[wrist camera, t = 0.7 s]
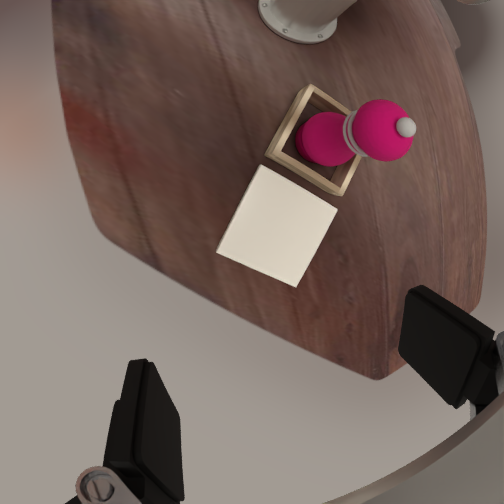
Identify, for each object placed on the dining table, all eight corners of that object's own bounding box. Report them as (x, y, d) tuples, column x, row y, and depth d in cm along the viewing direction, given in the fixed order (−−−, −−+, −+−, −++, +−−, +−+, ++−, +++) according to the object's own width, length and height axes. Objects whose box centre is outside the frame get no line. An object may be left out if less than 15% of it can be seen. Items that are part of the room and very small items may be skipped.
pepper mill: (339, 165, 39) (442, 169, 20) (294, 168, 38) (384, 170, 19) (334, 117, 37) (433, 92, 18) (288, 118, 35) (373, 79, 17)
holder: (299, 90, 35) (310, 83, 31) (358, 132, 38) (373, 129, 34) (263, 155, 36) (272, 153, 33) (328, 193, 40) (342, 196, 36)
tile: (259, 164, 37) (261, 164, 36) (334, 208, 40) (337, 209, 40) (215, 250, 39) (216, 252, 38) (293, 284, 42) (296, 287, 42)
